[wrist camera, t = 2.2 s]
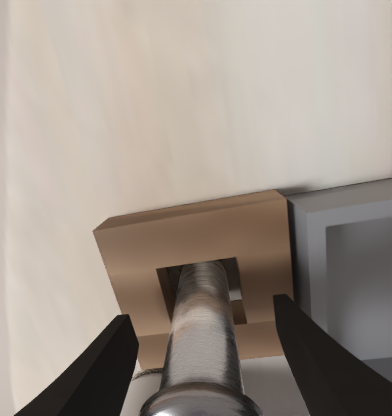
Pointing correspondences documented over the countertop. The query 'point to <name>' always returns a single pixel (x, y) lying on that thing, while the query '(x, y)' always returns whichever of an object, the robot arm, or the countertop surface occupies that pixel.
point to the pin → (201, 351)
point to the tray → (346, 266)
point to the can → (140, 393)
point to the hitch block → (199, 252)
